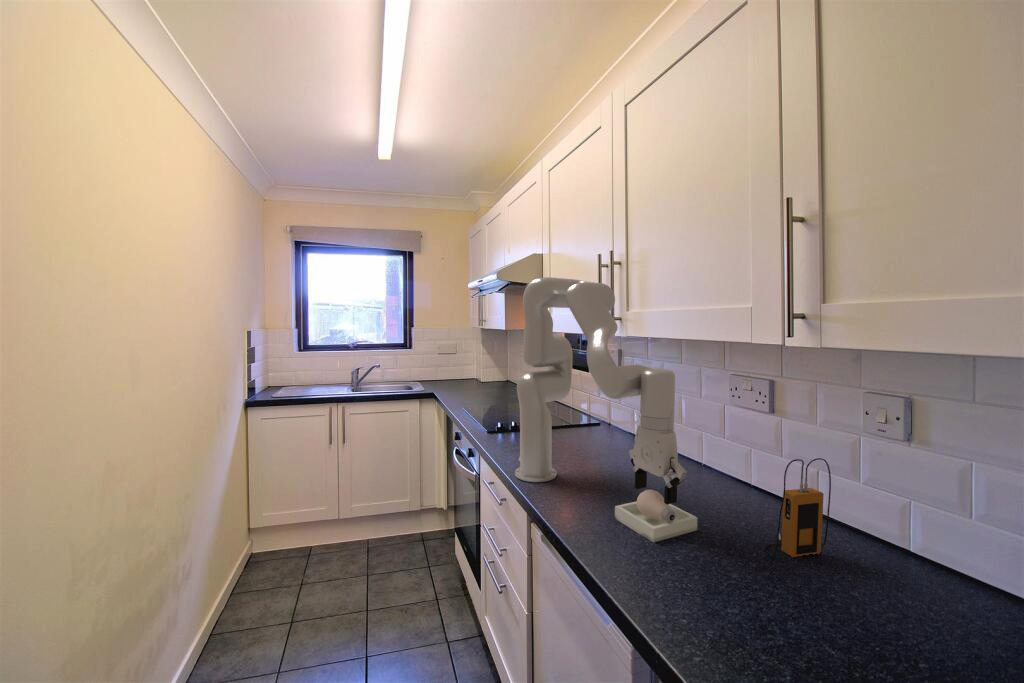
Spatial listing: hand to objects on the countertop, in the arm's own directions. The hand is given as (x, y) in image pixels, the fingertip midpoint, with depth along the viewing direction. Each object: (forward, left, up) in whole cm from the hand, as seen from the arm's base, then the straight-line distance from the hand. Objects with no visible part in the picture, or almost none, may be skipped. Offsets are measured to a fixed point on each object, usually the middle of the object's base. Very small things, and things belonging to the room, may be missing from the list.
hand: (654, 495), depth 107 cm
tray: (0, 0, -7) cm, 7 cm away
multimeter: (+20, +19, -7) cm, 28 cm away
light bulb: (+2, -1, -5) cm, 6 cm away
